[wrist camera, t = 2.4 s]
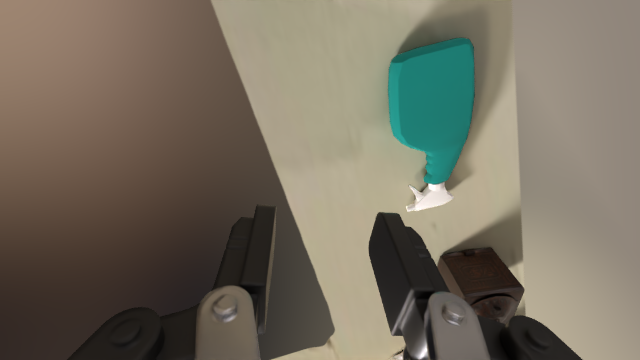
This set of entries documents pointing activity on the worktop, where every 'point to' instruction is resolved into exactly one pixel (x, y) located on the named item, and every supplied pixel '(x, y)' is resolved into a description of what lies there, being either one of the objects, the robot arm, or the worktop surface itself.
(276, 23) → the worktop surface
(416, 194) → the spray bottle
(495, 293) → the manual coffee grinder
